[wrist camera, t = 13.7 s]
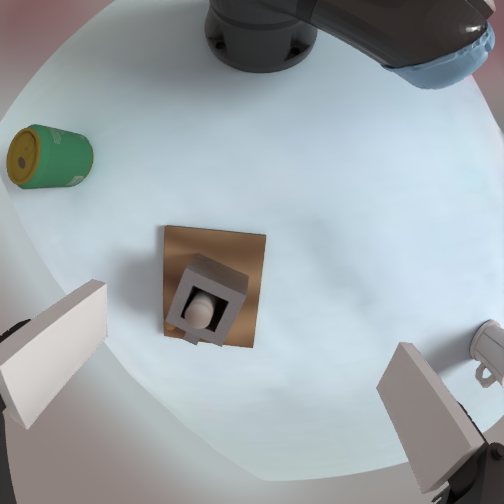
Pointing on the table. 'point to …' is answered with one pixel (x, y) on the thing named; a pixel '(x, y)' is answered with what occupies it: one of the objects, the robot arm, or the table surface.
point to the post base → (223, 251)
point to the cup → (489, 352)
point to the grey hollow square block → (217, 283)
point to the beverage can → (48, 158)
